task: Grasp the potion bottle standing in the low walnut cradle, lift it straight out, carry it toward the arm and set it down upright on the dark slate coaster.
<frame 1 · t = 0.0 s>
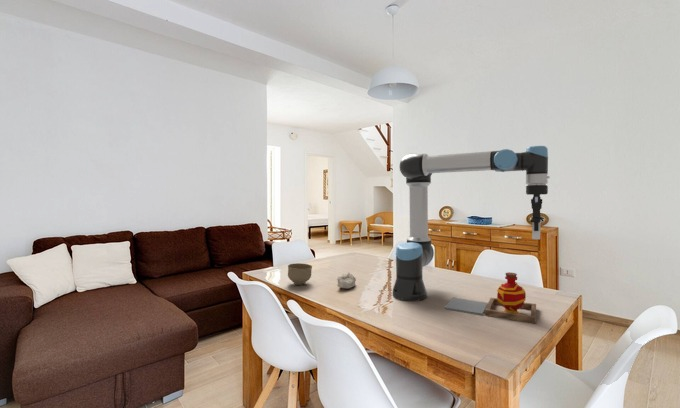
hand: (536, 237, 132), 28 cm above the table, fingers open, 13 cm apart
coaster: (466, 306, 133), on the table
cradle: (511, 311, 126), on the table
stone: (346, 287, 163), on the table
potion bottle: (511, 312, 126), resting in cradle
bowl: (300, 284, 170), on the table
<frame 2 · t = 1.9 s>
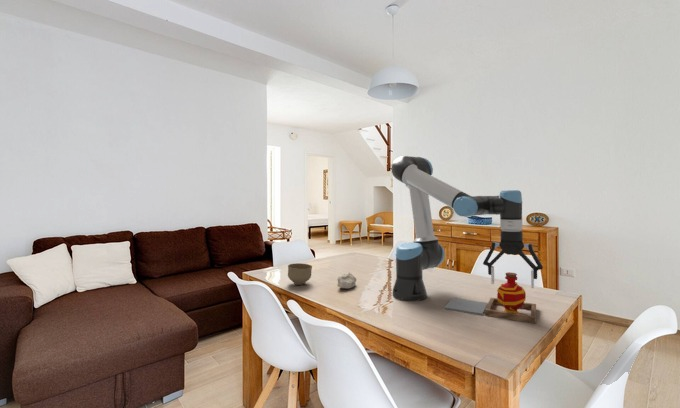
hand: (512, 285, 126), 11 cm above the table, fingers open, 13 cm apart
nothing on the table moved.
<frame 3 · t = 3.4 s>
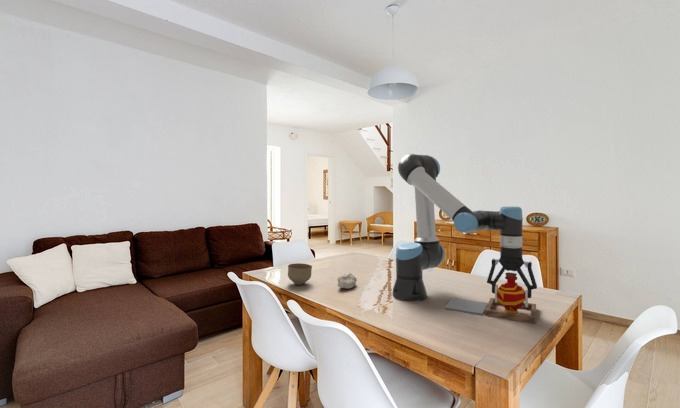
hand: (511, 303, 126), 3 cm above the table, fingers closed on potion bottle, 10 cm apart
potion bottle: (511, 312, 126), resting in cradle, touching gripper
everything else where it was.
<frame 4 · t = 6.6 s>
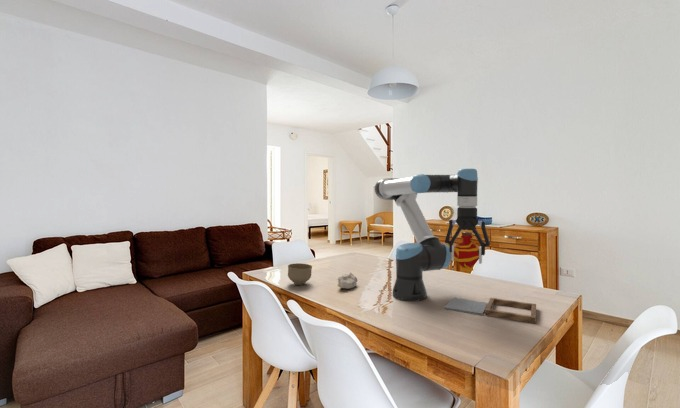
hand: (466, 261, 133), 18 cm above the table, fingers closed on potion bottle, 10 cm apart
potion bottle: (466, 269, 133), point 15 cm above the table, touching gripper
everything else where it was.
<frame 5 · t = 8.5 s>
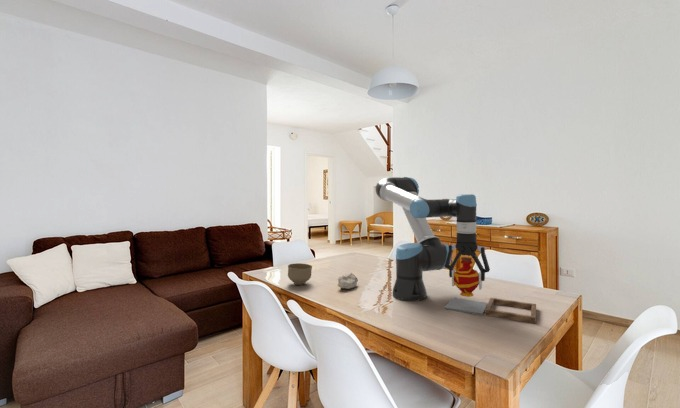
hand: (466, 286, 133), 8 cm above the table, fingers closed on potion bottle, 10 cm apart
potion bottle: (466, 295, 133), point 5 cm above the table, touching gripper
everything else where it was.
when the fingers open (5 cm above the table, at t = 10.1 s): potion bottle drops 1 cm, resting on coaster.
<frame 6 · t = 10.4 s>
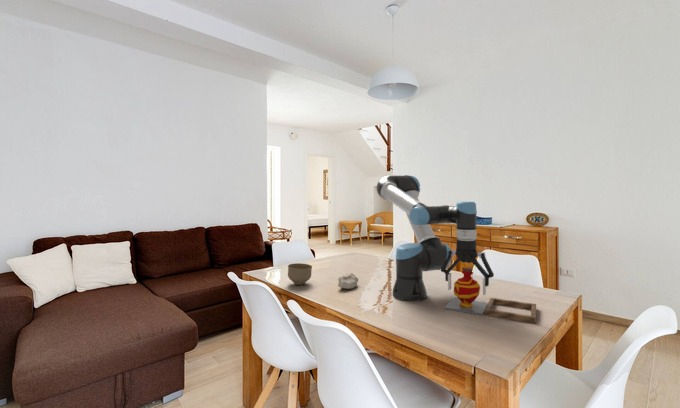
hand: (466, 291, 133), 6 cm above the table, fingers open, 13 cm apart
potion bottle: (466, 305, 133), point 1 cm above the table, touching coaster
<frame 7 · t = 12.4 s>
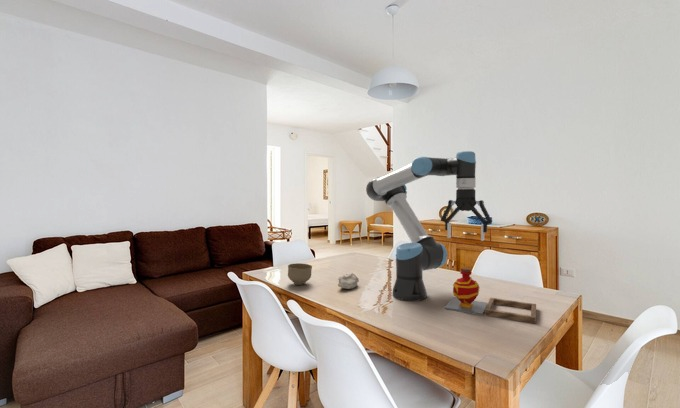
hand: (465, 239, 138), 27 cm above the table, fingers open, 13 cm apart
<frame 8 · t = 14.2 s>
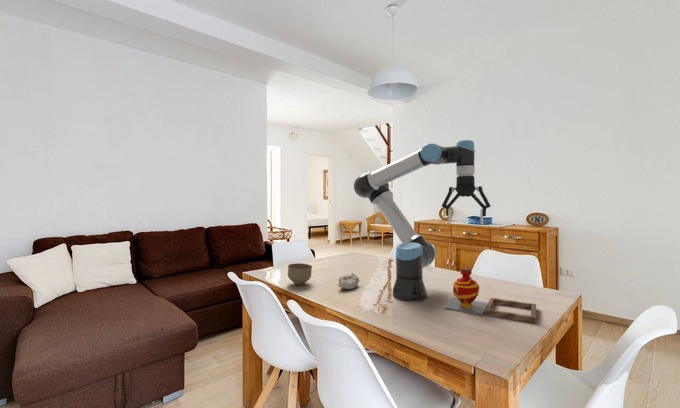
hand: (465, 223, 146), 33 cm above the table, fingers open, 13 cm apart
at the end: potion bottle inside the target area on the coaster (0.3 cm from its centre), point 0.4 cm above the coaster's base; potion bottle tilted 0°; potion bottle touching coaster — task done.
